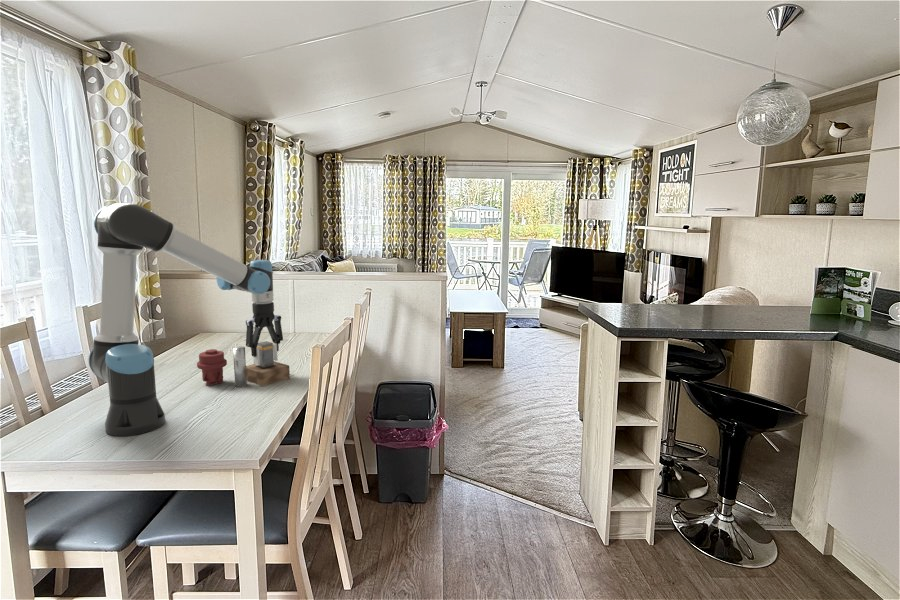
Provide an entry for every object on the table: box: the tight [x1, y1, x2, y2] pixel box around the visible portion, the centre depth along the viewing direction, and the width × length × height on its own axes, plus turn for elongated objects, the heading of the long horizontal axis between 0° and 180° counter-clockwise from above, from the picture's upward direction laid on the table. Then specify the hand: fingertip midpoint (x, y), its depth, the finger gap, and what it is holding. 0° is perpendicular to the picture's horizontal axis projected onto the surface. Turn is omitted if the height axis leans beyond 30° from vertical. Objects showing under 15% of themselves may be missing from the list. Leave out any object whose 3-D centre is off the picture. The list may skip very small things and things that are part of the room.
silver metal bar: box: [232, 345, 248, 388], centre depth 193 cm, size 4×4×14 cm
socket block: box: [246, 361, 291, 387], centre depth 201 cm, size 12×12×5 cm
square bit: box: [257, 341, 274, 369], centre depth 200 cm, size 4×4×14 cm
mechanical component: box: [196, 348, 228, 386], centre depth 195 cm, size 12×10×10 cm
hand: (265, 362), depth 200 cm, fingers open, 7 cm apart
